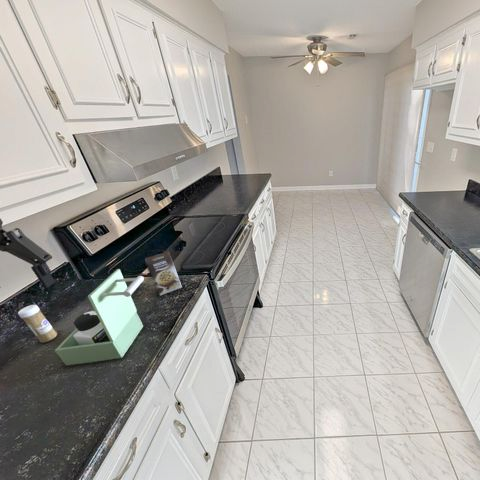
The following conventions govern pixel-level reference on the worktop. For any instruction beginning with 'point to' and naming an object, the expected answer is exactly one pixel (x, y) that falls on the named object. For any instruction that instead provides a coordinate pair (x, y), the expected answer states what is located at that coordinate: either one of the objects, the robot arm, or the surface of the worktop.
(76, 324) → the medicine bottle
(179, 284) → the coffee box
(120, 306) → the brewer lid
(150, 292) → the worktop surface
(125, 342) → the green storage bin
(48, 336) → the sprinkles bottle
